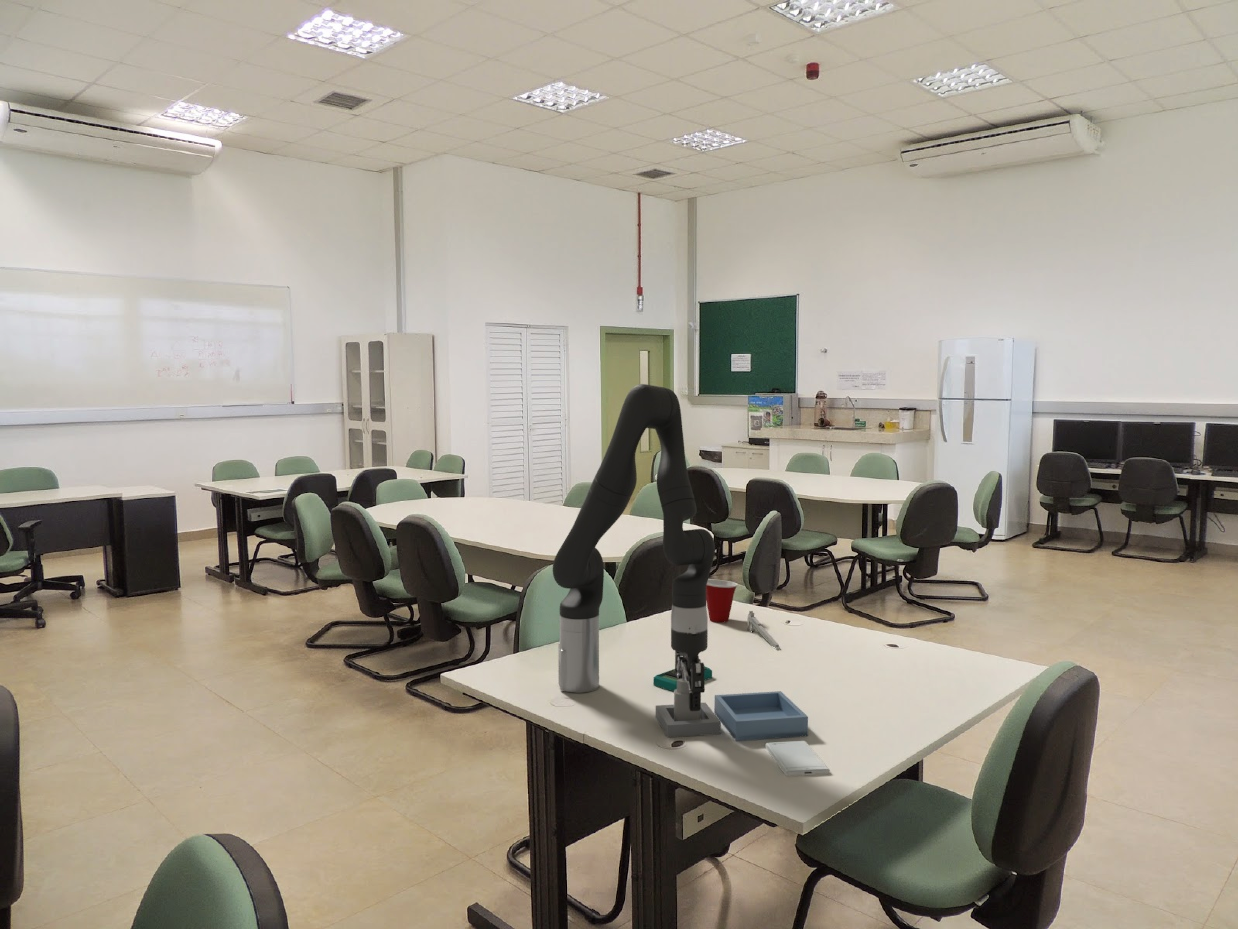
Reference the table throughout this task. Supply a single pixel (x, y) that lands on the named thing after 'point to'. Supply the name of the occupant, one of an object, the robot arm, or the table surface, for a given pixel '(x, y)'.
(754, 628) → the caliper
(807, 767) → the hard drive
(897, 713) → the table surface
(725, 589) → the plastic cup
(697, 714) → the power adapter
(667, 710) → the adapter holder
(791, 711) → the parts tray
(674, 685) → the digital multimeter
